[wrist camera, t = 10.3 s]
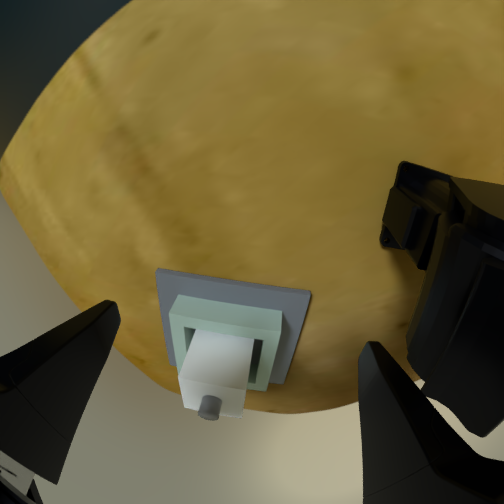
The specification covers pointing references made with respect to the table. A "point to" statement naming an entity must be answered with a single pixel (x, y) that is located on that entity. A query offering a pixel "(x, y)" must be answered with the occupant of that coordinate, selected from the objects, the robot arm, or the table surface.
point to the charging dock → (233, 319)
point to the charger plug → (216, 374)
